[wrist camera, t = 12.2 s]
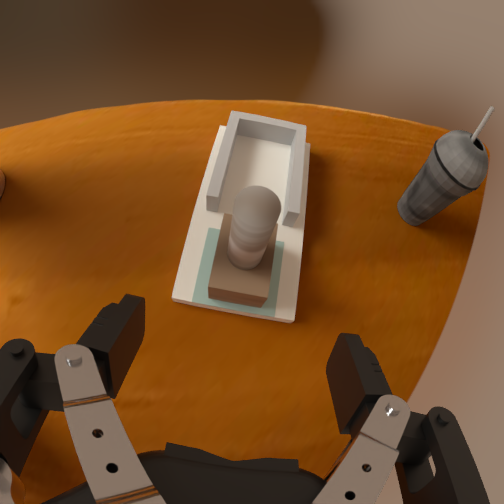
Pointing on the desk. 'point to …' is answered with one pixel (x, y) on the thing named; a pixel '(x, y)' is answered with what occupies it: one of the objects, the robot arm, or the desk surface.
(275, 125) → the docking tray
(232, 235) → the peg with base
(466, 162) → the beverage cup
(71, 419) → the robot arm
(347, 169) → the desk surface
